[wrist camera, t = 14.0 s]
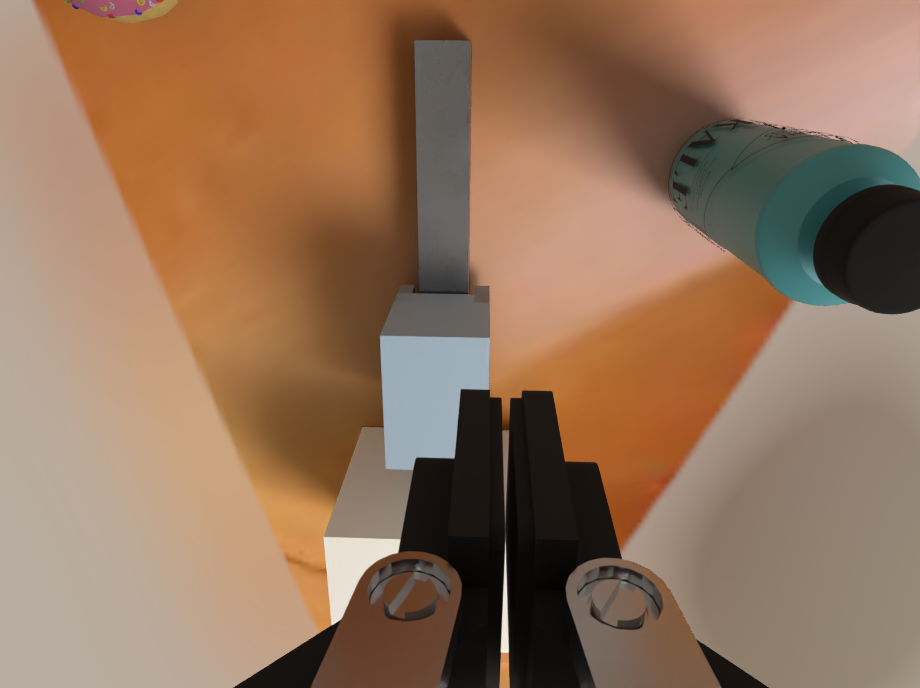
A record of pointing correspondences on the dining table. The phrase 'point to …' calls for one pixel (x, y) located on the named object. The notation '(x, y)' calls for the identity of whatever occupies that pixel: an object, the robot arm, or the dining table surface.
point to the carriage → (430, 370)
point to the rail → (443, 163)
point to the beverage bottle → (806, 212)
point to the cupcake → (125, 9)
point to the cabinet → (374, 520)
